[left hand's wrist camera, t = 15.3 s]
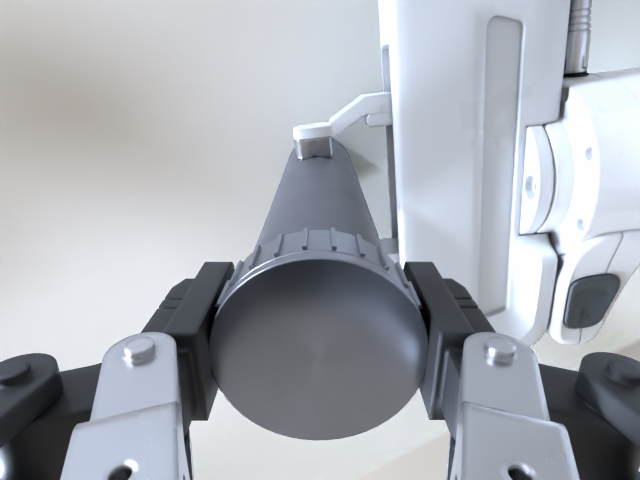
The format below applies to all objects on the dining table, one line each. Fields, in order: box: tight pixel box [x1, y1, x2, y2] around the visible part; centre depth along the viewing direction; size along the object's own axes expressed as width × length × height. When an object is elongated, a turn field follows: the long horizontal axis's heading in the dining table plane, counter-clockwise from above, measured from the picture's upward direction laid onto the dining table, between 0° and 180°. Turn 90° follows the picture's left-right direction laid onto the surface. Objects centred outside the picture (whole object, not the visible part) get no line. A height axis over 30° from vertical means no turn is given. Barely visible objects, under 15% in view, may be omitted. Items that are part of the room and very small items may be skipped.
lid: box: [209, 227, 429, 440], centre depth 10 cm, size 5×5×2 cm
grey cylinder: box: [256, 138, 382, 247], centre depth 19 cm, size 4×4×19 cm
